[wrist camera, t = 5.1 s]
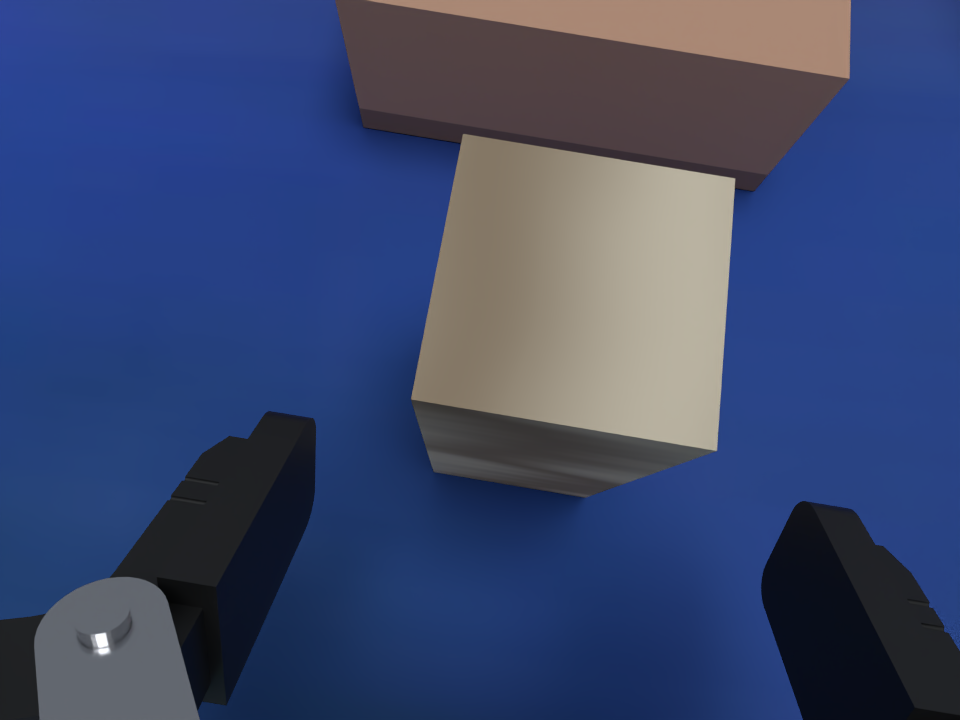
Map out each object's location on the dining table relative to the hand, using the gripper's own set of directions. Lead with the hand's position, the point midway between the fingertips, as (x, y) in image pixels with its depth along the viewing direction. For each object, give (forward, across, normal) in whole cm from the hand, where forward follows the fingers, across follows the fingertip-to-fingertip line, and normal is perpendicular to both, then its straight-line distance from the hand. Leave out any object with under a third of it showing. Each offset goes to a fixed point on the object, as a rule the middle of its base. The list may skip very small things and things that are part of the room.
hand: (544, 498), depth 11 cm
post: (+8, 0, +4) cm, 9 cm away
